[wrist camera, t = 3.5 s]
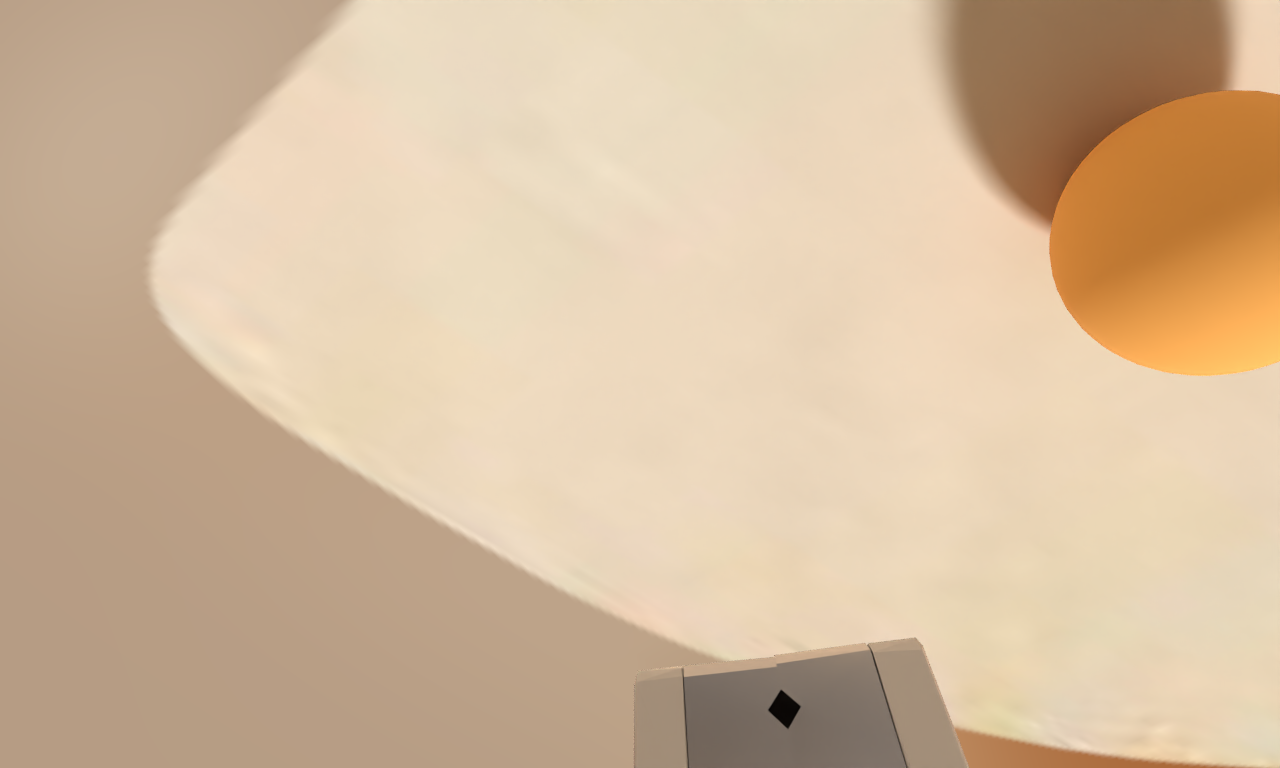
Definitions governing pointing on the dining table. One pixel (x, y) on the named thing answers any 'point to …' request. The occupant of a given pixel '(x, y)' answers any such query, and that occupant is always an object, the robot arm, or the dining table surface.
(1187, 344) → the ball
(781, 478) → the dining table surface
